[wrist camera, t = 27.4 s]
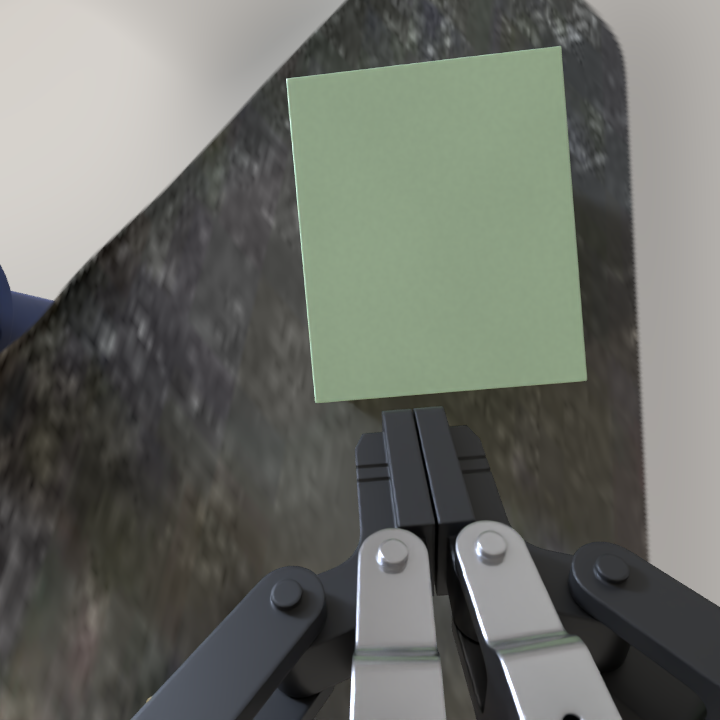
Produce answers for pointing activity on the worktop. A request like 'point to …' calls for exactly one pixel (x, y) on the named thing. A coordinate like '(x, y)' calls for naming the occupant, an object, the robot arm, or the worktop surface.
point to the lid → (438, 226)
